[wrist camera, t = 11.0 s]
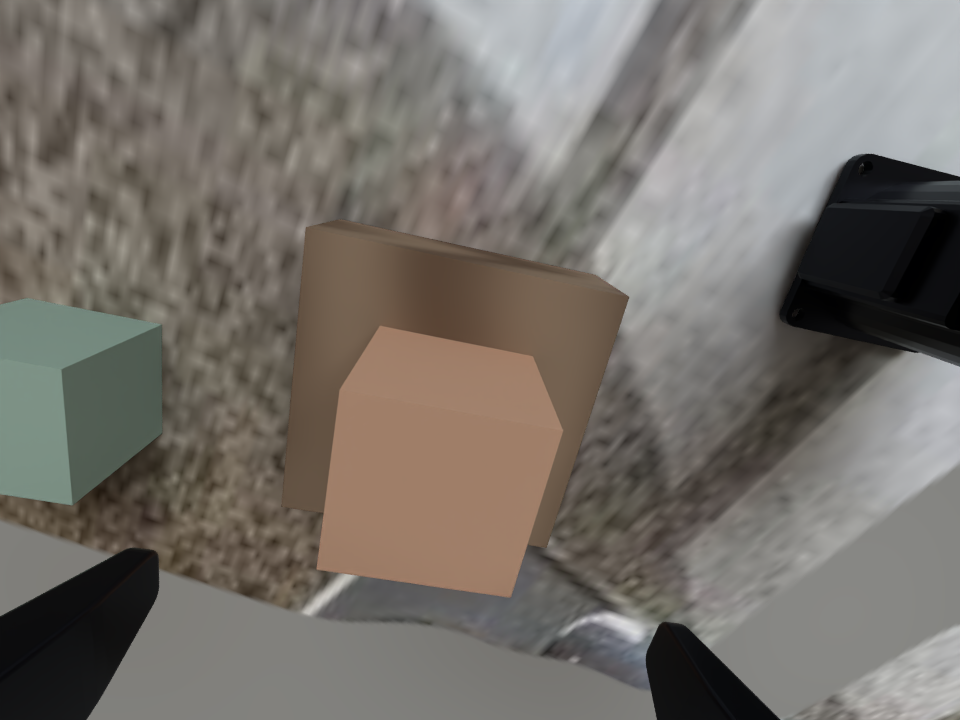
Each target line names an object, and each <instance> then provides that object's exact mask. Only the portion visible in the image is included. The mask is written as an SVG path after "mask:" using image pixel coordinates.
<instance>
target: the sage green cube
mask: <svg viewBox="0 0 960 720" xmlns="http://www.w3.org/2000/svg"><path fill="white" fill-rule="evenodd" d="M160 434H162V325H161V324H156V323H151V322H146V321H141V320H136V319H131V318H126V317H121V316H115V315H110V314H105V313H100V312H95V311H90V310H85V309H80V308H75V307H70V306H65V305H60V304H55V303H49V302H44V301H39V300H34V299H29V298H25V299H21V300H17V301H13V302H9V303H5V304H1V305H0V494H3V495H9V496H16V497H22V498H29V499H35V500H41V501H48V502H54V503H61V504H67V505H74V504H75V503H76V502H77V501H78V500H80V499H81V498H82V497H83V496H85V495H86V494H87V493H88V492H90V491H91V490H92V489H93V488H95V487H96V486H97V485H98V484H100V483H101V482H102V481H103V480H105V479H106V478H107V477H108V476H110V475H111V474H112V473H113V472H115V471H116V470H117V469H118V468H119V467H121V466H122V465H123V464H124V463H126V462H127V461H128V460H129V459H131V458H132V457H133V456H134V455H136V454H137V453H138V452H139V451H141V450H142V449H143V448H144V447H146V446H147V445H148V444H149V443H151V442H152V441H153V440H154V439H156V438H157V437H158V436H159V435H160Z"/></svg>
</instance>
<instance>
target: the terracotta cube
mask: <svg viewBox="0 0 960 720" xmlns="http://www.w3.org/2000/svg"><path fill="white" fill-rule="evenodd" d="M562 433H563V429H562V427H561V424H560V422H559V419H558V417H557V414H556V412H555V409H554V407H553V404H552V402H551V399H550V397H549V395H548V392H547V390H546V387H545V385H544V382H543V380H542V377H541V375H540V372H539V370H538V368H537V365H536V363H535V360H534V358H533V356H529V355H524V354H519V353H514V352H509V351H504V350H499V349H494V348H489V347H484V346H479V345H474V344H469V343H464V342H459V341H454V340H449V339H444V338H439V337H434V336H429V335H424V334H419V333H414V332H409V331H404V330H399V329H394V328H389V327H384V326H379V328H378V330H377V331H376V333H375V334H374V336H373V338H372V339H371V341H370V342H369V344H368V345H367V347H366V349H365V350H364V352H363V353H362V355H361V357H360V358H359V360H358V361H357V363H356V364H355V366H354V368H353V369H352V371H351V372H350V374H349V376H348V377H347V379H346V380H345V382H344V384H343V385H342V387H341V388H340V391H339V398H338V406H337V414H336V422H335V430H334V437H333V445H332V453H331V461H330V469H329V476H328V484H327V492H326V500H325V508H324V515H323V523H322V531H321V539H320V547H319V554H318V562H317V570H323V571H330V572H337V573H344V574H351V575H358V576H364V577H371V578H378V579H385V580H392V581H399V582H406V583H413V584H420V585H427V586H434V587H441V588H447V589H454V590H461V591H468V592H475V593H482V594H489V595H496V596H503V597H510V598H511V595H512V592H513V589H514V586H515V582H516V579H517V576H518V573H519V570H520V567H521V563H522V560H523V557H524V554H525V551H526V548H527V544H528V541H529V538H530V535H531V532H532V528H533V525H534V522H535V519H536V516H537V513H538V509H539V506H540V503H541V500H542V497H543V494H544V490H545V487H546V484H547V481H548V478H549V475H550V471H551V468H552V465H553V462H554V459H555V455H556V452H557V449H558V446H559V443H560V440H561V436H562Z"/></svg>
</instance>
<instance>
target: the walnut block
mask: <svg viewBox="0 0 960 720" xmlns="http://www.w3.org/2000/svg"><path fill="white" fill-rule="evenodd" d="M628 299H629V296H627V295H626V294H624V293H623V292H621V291H619V290H618V289H616V288H615V287H613V286H612V285H610V284H609V283H607V282H606V281H604V280H603V279H601V278H599V277H598V276H596V275H593V274H589V273H584V272H579V271H575V270H570V269H566V268H561V267H557V266H552V265H547V264H543V263H538V262H534V261H529V260H524V259H520V258H515V257H511V256H506V255H502V254H497V253H492V252H488V251H483V250H479V249H474V248H470V247H465V246H460V245H456V244H451V243H447V242H442V241H438V240H433V239H428V238H424V237H419V236H415V235H410V234H406V233H401V232H396V231H392V230H387V229H383V228H378V227H373V226H369V225H364V224H360V223H355V222H351V221H346V220H341V219H340V220H335V221H331V222H327V223H322V224H318V225H314V226H309V227H306V231H305V243H304V254H303V266H302V277H301V288H300V300H299V311H298V323H297V334H296V345H295V357H294V368H293V380H292V391H291V403H290V414H289V425H288V437H287V448H286V460H285V471H284V482H283V494H282V505H281V507H287V508H293V509H300V510H306V511H313V512H319V513H324V508H325V500H326V492H327V484H328V476H329V469H330V461H331V453H332V445H333V437H334V430H335V422H336V414H337V406H338V398H339V391H340V388H341V387H342V385H343V384H344V382H345V380H346V379H347V377H348V376H349V374H350V372H351V371H352V369H353V368H354V366H355V364H356V363H357V361H358V360H359V358H360V357H361V355H362V353H363V352H364V350H365V349H366V347H367V345H368V344H369V342H370V341H371V339H372V338H373V336H374V334H375V333H376V331H377V330H378V328H379V326H384V327H389V328H394V329H399V330H404V331H409V332H414V333H419V334H424V335H429V336H434V337H439V338H444V339H449V340H454V341H459V342H464V343H469V344H474V345H479V346H484V347H489V348H494V349H499V350H504V351H509V352H514V353H519V354H524V355H529V356H533V358H534V360H535V363H536V365H537V368H538V370H539V372H540V375H541V377H542V380H543V382H544V385H545V387H546V390H547V392H548V395H549V397H550V399H551V402H552V404H553V407H554V409H555V412H556V414H557V417H558V419H559V422H560V424H561V427H562V429H563V433H562V436H561V440H560V443H559V446H558V449H557V452H556V455H555V459H554V462H553V465H552V468H551V471H550V475H549V478H548V481H547V484H546V487H545V490H544V494H543V497H542V500H541V503H540V506H539V509H538V513H537V516H536V519H535V522H534V525H533V528H532V532H531V535H530V538H529V541H528V544H527V545H532V546H538V547H545V548H547V545H548V542H549V539H550V536H551V533H552V530H553V527H554V524H555V521H556V518H557V514H558V511H559V508H560V505H561V502H562V499H563V496H564V493H565V490H566V487H567V484H568V481H569V478H570V475H571V472H572V469H573V466H574V463H575V460H576V457H577V454H578V451H579V448H580V445H581V442H582V439H583V436H584V433H585V430H586V427H587V424H588V421H589V418H590V414H591V411H592V408H593V405H594V402H595V399H596V396H597V393H598V390H599V387H600V384H601V381H602V378H603V375H604V372H605V369H606V366H607V363H608V360H609V357H610V354H611V351H612V348H613V345H614V342H615V339H616V336H617V333H618V330H619V327H620V324H621V321H622V317H623V314H624V311H625V308H626V305H627V302H628Z"/></svg>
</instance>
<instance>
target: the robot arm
mask: <svg viewBox="0 0 960 720" xmlns="http://www.w3.org/2000/svg"><path fill="white" fill-rule="evenodd" d="M862 163H863V165H864V170H863V172H862V173H861V175H859V167H860V165H861V164H862ZM796 309H798V314H797V315H796V316H795V317H793V318H792V314H793V312H794V311H795V310H796ZM780 319H781V320H782V321H783V322H784V323H786V324H789V325H791V326H794V327H798V328H803V329H807V330H812V331H817V332H821V333H826V334H831V335H835V336H840V337H844V338H849V339H854V340H858V341H863V342H867V343H872V344H877V345H881V346H886V347H891V348H895V349H900V350H904V351H909V352H914V353H919V352H920V353H923V354H926V355H929V356H931V357H934V358H937V359H940V360H943V361H945V362H948V363H951V364H954V365H957V366H959V367H960V177H958V176H955V175H951V174H947V173H943V172H939V171H936V170H932V169H928V168H924V167H920V166H917V165H913V164H909V163H905V162H901V161H898V160H894V159H890V158H886V157H882V156H878V155H875V154H860V155H856V156H854V157H852V158H851V159H850V160H849V161H848V162H847V163H846V165H845V167H844V169H843V171H842V173H841V176H840V178H839V180H838V182H837V185H836V187H835V189H834V191H833V194H832V196H831V198H830V200H829V203H828V205H827V207H826V209H825V210H824V212H823V214H822V217H821V219H820V221H819V223H818V226H817V228H816V230H815V232H814V235H813V237H812V239H811V241H810V244H809V246H808V248H807V250H806V253H805V255H804V257H803V259H802V262H801V264H800V266H799V268H798V272H797V274H796V277H795V279H794V281H793V283H792V286H791V288H790V290H789V292H788V295H787V297H786V299H785V301H784V304H783V306H782V308H781V311H780ZM158 591H159V557H158V554H157V552H156V551H154V550H149V549H141V548H128V549H126V550H124V551H122V552H120V553H118V554H116V555H114V556H112V557H110V558H109V559H107V560H105V561H103V562H101V563H100V564H97V565H95V566H94V567H92V568H90V569H88V570H86V571H84V572H82V573H80V574H79V575H77V576H75V577H73V578H71V579H69V580H67V581H65V582H64V583H62V584H60V585H58V586H56V587H54V588H52V589H50V590H49V591H47V592H45V593H43V594H41V595H40V596H37V597H35V598H34V599H32V600H30V601H28V602H26V603H25V604H23V605H21V606H19V607H17V608H15V609H13V610H11V611H9V612H7V613H6V614H4V615H2V616H0V720H86V719H87V718H88V717H89V715H90V714H91V712H92V710H93V709H94V707H95V706H96V704H97V703H98V701H99V700H100V698H101V696H102V694H103V693H104V691H105V689H106V688H107V686H108V684H109V682H110V681H111V679H112V677H113V675H114V674H115V672H116V670H117V668H118V666H119V665H120V663H121V661H122V659H123V657H124V656H125V654H126V652H127V650H128V649H129V647H130V645H131V643H132V642H133V640H134V638H135V636H136V634H137V633H138V631H139V629H140V627H141V626H142V624H143V622H144V620H145V618H146V617H147V615H148V613H149V611H150V609H151V608H152V606H153V604H154V602H155V600H156V598H157V595H158ZM646 668H647V673H648V678H649V683H650V688H651V693H652V697H653V702H654V707H655V712H656V717H657V720H780V719H779V718H778V717H777V716H776V715H775V714H774V713H773V712H772V711H771V710H770V709H769V708H768V707H767V706H766V705H765V704H764V703H763V702H762V701H761V700H760V699H759V698H758V697H757V696H756V695H755V694H754V693H753V692H752V691H751V690H750V689H749V688H748V687H747V686H746V685H745V684H744V683H743V682H742V681H741V680H740V679H739V678H738V677H737V676H736V675H735V674H734V673H733V672H732V671H731V670H730V669H729V668H728V667H727V666H726V665H725V664H724V663H722V661H721V660H720V659H719V658H718V657H717V656H715V654H714V653H712V651H711V650H710V649H709V648H708V647H707V646H706V645H704V644H703V643H702V642H701V641H700V640H699V639H698V638H697V637H696V636H695V635H694V634H693V633H692V632H691V631H690V630H689V629H688V628H687V627H686V626H684V625H682V624H678V623H671V622H662V623H661V624H660V625H659V626H658V628H657V631H656V633H655V635H654V637H653V639H652V641H651V644H650V646H649V648H648V650H647V654H646Z"/></svg>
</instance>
